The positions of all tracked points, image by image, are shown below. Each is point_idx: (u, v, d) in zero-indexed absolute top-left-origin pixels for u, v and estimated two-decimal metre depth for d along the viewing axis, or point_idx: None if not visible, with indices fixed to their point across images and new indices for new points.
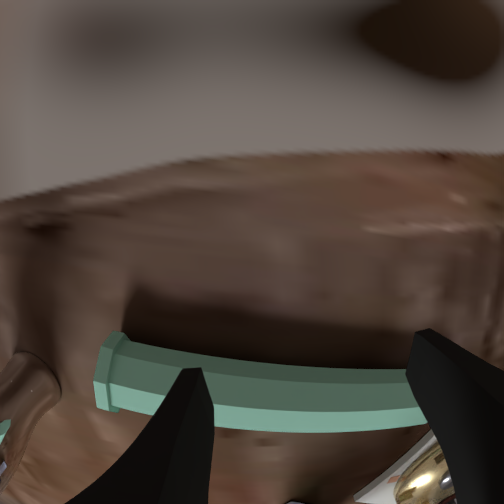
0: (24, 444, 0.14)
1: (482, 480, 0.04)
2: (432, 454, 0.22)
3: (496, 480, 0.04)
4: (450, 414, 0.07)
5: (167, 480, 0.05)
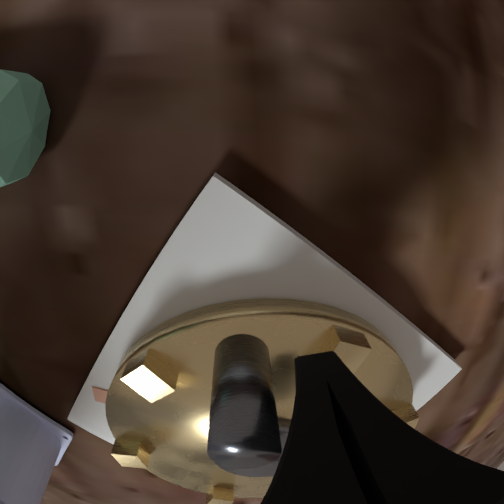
0: None
1: None
2: (133, 352, 0.12)
3: None
4: None
5: (349, 463, 0.05)
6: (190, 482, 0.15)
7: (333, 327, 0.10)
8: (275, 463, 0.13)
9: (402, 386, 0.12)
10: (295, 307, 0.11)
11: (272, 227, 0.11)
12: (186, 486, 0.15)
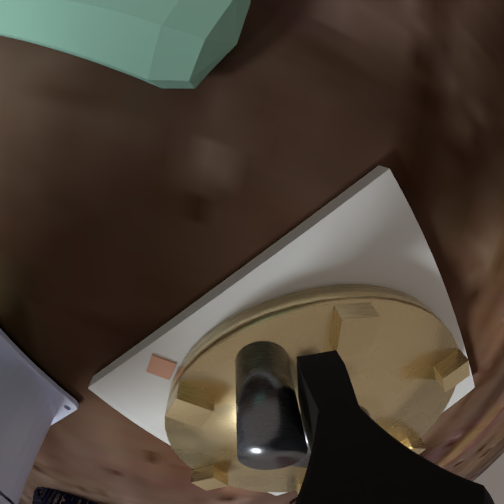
0: None
1: None
2: (172, 388, 0.12)
3: None
4: None
5: (378, 455, 0.05)
6: (277, 485, 0.16)
7: (334, 307, 0.10)
8: None
9: (439, 335, 0.12)
10: (294, 300, 0.11)
11: (413, 227, 0.11)
12: (275, 490, 0.16)
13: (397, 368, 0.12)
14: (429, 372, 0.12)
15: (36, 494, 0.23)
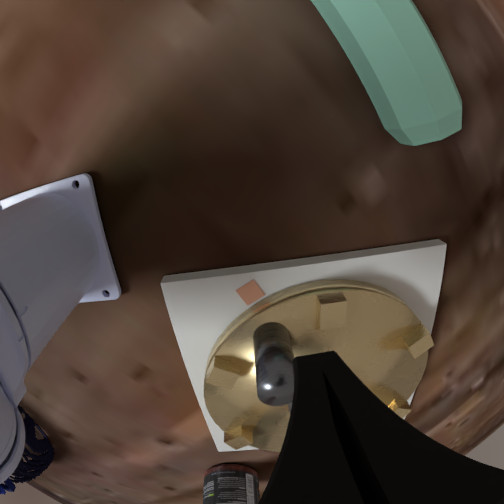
0: None
1: None
2: (208, 363, 0.18)
3: None
4: None
5: (346, 464, 0.05)
6: None
7: (316, 296, 0.16)
8: None
9: (401, 314, 0.17)
10: (290, 293, 0.17)
11: (438, 282, 0.18)
12: None
13: (372, 339, 0.17)
14: (400, 343, 0.18)
15: None
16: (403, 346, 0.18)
